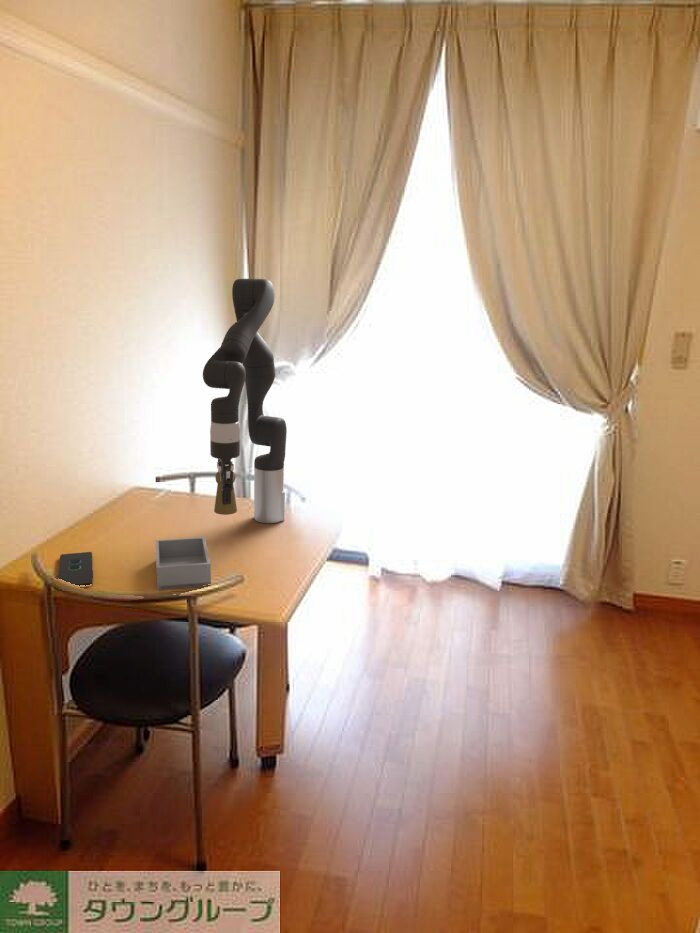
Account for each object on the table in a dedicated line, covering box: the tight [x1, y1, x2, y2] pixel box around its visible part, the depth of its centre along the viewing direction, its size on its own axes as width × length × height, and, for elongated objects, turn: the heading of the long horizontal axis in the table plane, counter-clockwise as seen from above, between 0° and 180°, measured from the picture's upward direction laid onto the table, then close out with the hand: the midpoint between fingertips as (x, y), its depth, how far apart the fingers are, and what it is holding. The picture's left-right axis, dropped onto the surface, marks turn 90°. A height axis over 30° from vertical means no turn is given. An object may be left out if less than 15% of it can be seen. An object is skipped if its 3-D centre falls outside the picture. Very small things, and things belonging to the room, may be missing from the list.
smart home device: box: [57, 551, 94, 586], centre depth 178 cm, size 8×2×20 cm
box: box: [155, 536, 212, 591], centre depth 179 cm, size 13×18×6 cm
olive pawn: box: [213, 471, 238, 516], centre depth 182 cm, size 6×6×11 cm
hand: (225, 500), depth 183 cm, fingers closed on olive pawn, 4 cm apart
